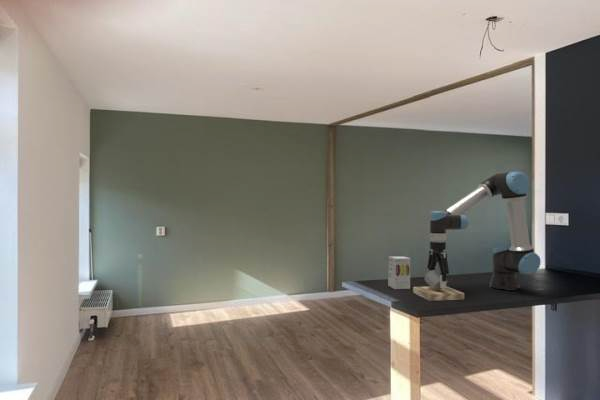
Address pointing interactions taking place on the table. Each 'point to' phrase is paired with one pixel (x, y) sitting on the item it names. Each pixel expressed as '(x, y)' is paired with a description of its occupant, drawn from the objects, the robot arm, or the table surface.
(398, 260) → the supplement box
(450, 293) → the square wooden tile
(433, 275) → the ceramic mug
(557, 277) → the table surface
